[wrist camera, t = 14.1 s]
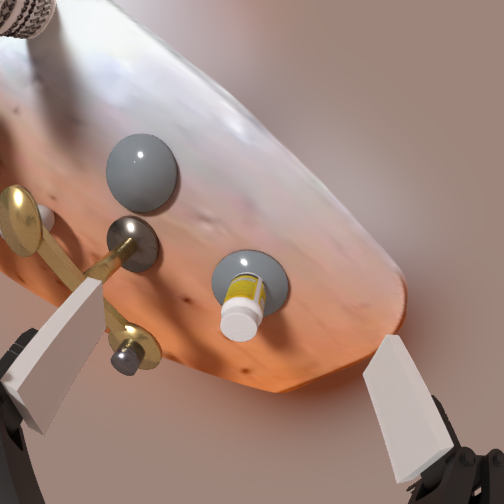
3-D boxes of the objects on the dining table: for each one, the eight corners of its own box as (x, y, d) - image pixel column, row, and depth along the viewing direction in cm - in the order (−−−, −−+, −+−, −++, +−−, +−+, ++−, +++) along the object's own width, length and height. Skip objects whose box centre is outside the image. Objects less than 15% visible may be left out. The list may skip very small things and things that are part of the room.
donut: (30, 218, 39) (-10, 240, 30) (28, 199, 37) (-14, 218, 28) (67, 226, 38) (25, 253, 29) (66, 205, 37) (21, 229, 28)
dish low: (231, 321, 41) (230, 325, 40) (200, 263, 38) (198, 266, 37) (298, 304, 39) (298, 307, 38) (272, 239, 35) (271, 241, 34)
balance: (156, 322, 43) (111, 399, 28) (76, 173, 34) (-11, 208, 20) (198, 312, 41) (159, 399, 26) (114, 146, 32) (20, 170, 18)
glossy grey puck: (129, 221, 36) (126, 223, 36) (99, 156, 33) (95, 157, 32) (190, 192, 34) (188, 193, 33) (157, 119, 31) (154, 119, 30)
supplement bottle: (223, 285, 38) (207, 325, 30) (247, 263, 36) (236, 301, 28) (249, 308, 39) (239, 350, 31) (274, 288, 37) (270, 330, 29)
